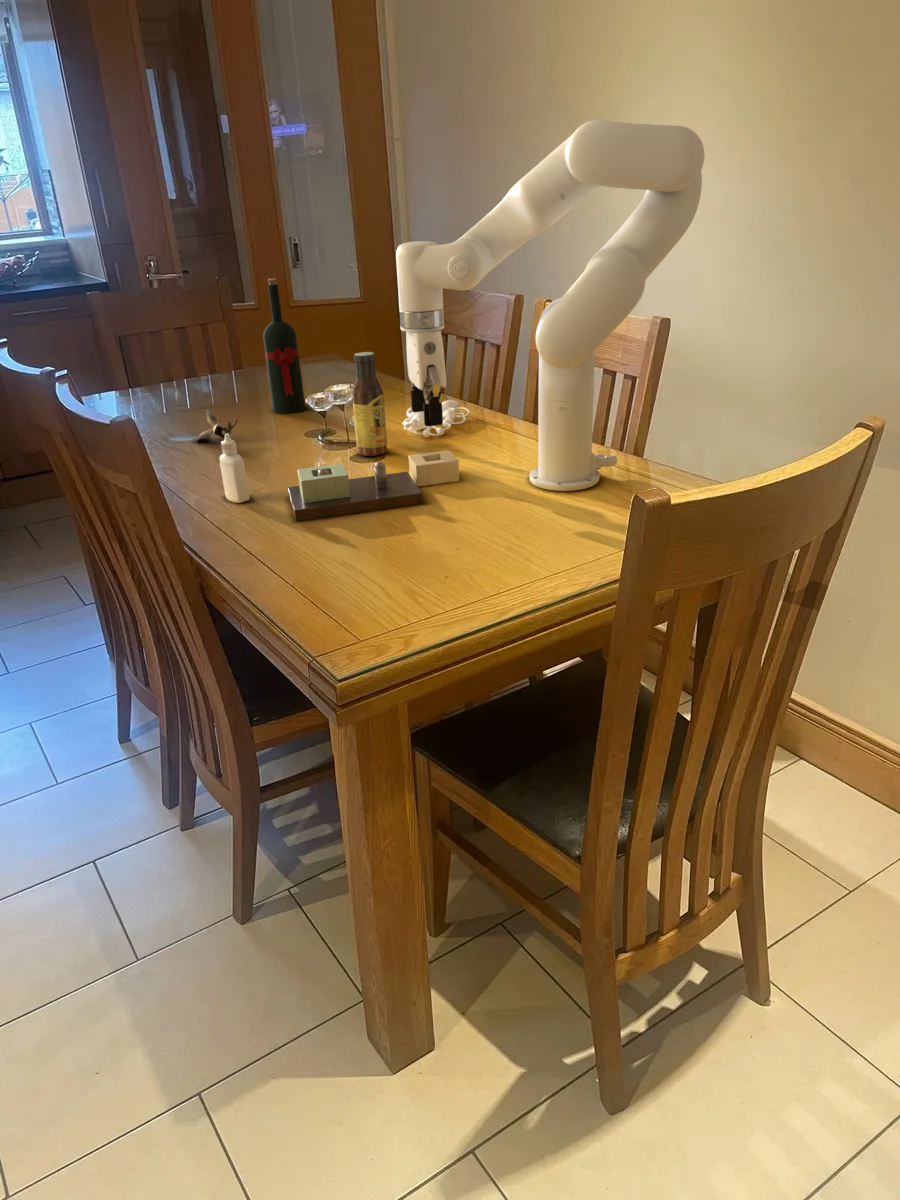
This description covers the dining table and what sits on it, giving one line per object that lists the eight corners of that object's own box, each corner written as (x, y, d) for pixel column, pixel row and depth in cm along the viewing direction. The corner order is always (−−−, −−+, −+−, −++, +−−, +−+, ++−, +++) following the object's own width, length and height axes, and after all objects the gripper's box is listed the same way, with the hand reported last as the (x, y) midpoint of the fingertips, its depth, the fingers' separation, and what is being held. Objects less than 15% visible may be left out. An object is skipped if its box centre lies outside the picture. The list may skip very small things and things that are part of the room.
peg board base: (408, 481, 160) (405, 447, 157) (422, 503, 150) (420, 468, 147) (289, 497, 155) (284, 463, 152) (296, 521, 145) (291, 484, 142)
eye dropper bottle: (225, 505, 153) (213, 439, 148) (225, 494, 158) (214, 431, 153) (249, 502, 154) (239, 437, 148) (250, 492, 159) (239, 428, 153)
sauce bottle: (383, 457, 173) (374, 357, 164) (353, 457, 174) (343, 357, 165) (391, 447, 179) (383, 350, 170) (362, 447, 180) (353, 350, 171)
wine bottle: (275, 417, 204) (256, 283, 190) (271, 406, 213) (253, 278, 199) (308, 413, 206) (292, 280, 192) (303, 403, 214) (287, 275, 201)
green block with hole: (344, 484, 154) (342, 463, 152) (350, 497, 149) (348, 474, 147) (299, 490, 152) (297, 469, 151) (304, 503, 147) (301, 481, 145)
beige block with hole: (450, 470, 165) (449, 450, 163) (459, 481, 159) (458, 460, 157) (409, 475, 163) (408, 455, 161) (417, 486, 157) (415, 465, 155)
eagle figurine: (244, 430, 191) (211, 420, 194) (233, 409, 184) (199, 399, 187) (226, 457, 188) (193, 446, 191) (214, 436, 182) (180, 425, 184)
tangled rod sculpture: (455, 445, 182) (456, 426, 180) (389, 438, 185) (389, 419, 183) (474, 417, 198) (474, 399, 196) (413, 410, 201) (413, 393, 199)
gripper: (456, 326, 141) (460, 428, 149) (430, 310, 156) (435, 404, 164) (412, 330, 139) (417, 433, 147) (390, 313, 154) (396, 408, 162)
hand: (426, 418), depth 155 cm, fingers open, 9 cm apart
